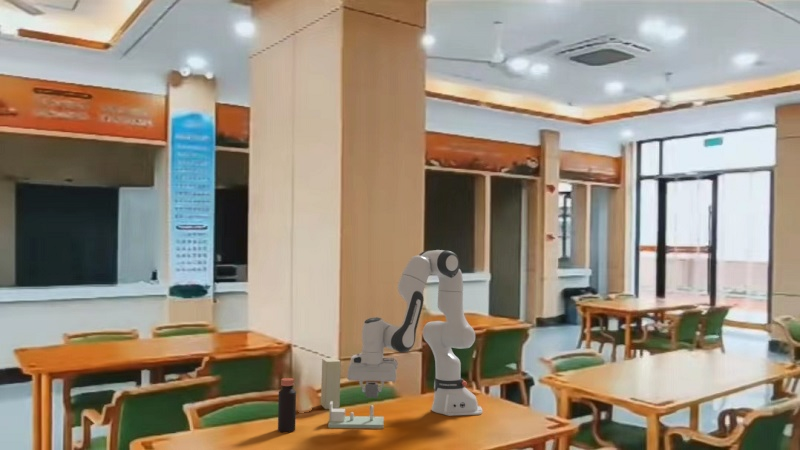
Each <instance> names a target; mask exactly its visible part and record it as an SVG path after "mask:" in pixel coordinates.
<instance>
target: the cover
mask: <svg viewBox="0 0 800 450" xmlns="http://www.w3.org/2000/svg"><path fill="white" fill-rule="evenodd" d="M328 410H329V412H328V413H329V416H328V417H329V419H328V422H329V421H335V422H344V419H345V416H346V408H334V409H333V401H331V402H330V408H329V409H328Z"/></svg>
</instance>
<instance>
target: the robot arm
mask: <svg viewBox="0 0 800 450" xmlns="http://www.w3.org/2000/svg"><path fill="white" fill-rule="evenodd" d="M431 275H432V276H437V278H438V291H437V309H438V311H440V312H441V313H442V314H443V315H444V317H445V320H446V321H442V320H435V321H434V320H433V321H429V322H426V324H425V325H424V327H423V329H422V337H423V340H424V342H426V343H427V344H428V346H429V347H430V350H431V351H432V354H433V356H434V361H435V362H434V363H435V377H434V381H433V382H434V383H433V390H434V394H433V395H434V396H433V402H432V406H431V411H432V412H434V413H436V414H441V415H445V416H447V417H449V416H450V417H451V416H452V417H454V416H474V415H478V416H479V415H482V414H483V413H484V412H483V408H482V406H481V405H478V400H477V397H476V395H475V394H474V393H473V392H472V391H470V390H469V389H468V388H466V387H467V385H468V384H467V381H465V379H463V378H462V377H461V373H462V372H461V371H462V370H461V367H462V366H461V365H462V363H461V360H460V359H459V357H458V356H456V355H455V354H454V352H453V349H458V350H459V349H462V350H463V349H469V348H471V347H472V346H473V345H474V343H475V342H476V332H475V329H474V327H472V326H471V325H470V323H469V322H468V320H467V318H466V316H465V313H464V304H463V301H464V293H463V292H464V282H463V281H464V280H463V274H462V270H461V269H460V260H459V257H458V255H457V254H456V253H455V252H453V251H450V250H443V249H441V250H440V249H436V250H424V251H422V252H421V253H419V254H418V255H413V256H412V257H411V258H410V259H409V261H408V262H407V264H406V266H405V267H404V270H402V274H401V276H400V279H399V281H398V285H397V291H398V293H399V295H400V297H402V299H404V301H405V302H406V305H407V306H406V310H405V313H404V318H403V321H402V324H401V325H400V326H398V325H394V324H390V323H388V322H386V321H384V320H383V319H382V317H378V316H377V317H370V318H367V319H365V320H364V322H363V325H362V330H361V331H362V332H361V333H362V334H361V341H362V348H361V352H360V353H356V354H353V355H352V356H351V357H350V363H349V365H348V369H347V375H346V376H347V377H346V378H347V380H348V381H349V382H358V384H359V385H360V387H361V392H362V393H365V385H364V382H380V384H381V385H380V386H378V393H382V388H384V387H383V386H384V385H385V382H393V383H394V382H396V381H397V368H398V364H399V362H398V360H397V359H395V358H393V357H392V358H389V357H384V348H386V349H390V350H394V351H397V352H399V353H403V354H405V353H407V352H410V350H412V348H413V347H414V346H415V342H416V334H417V328H418V325H419V321H420V318H421V314H422V309H423V306H424V300H425V299H424V291H425V288H426V287H425V286H426V284H427V282H428V278H429V277H430V276H431ZM452 348H453V349H452Z"/></svg>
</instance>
